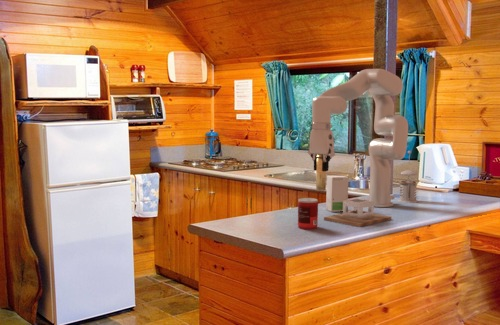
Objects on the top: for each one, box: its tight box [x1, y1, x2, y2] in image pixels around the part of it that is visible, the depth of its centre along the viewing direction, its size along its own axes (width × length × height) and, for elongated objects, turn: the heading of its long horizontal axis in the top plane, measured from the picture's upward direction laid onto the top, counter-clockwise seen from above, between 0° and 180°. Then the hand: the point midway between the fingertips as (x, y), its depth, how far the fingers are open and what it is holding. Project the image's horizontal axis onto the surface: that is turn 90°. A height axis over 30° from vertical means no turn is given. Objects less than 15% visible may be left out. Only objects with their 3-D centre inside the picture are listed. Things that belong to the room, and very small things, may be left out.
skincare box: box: [325, 175, 349, 213], centre depth 269 cm, size 8×7×16 cm
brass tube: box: [315, 154, 327, 191], centre depth 253 cm, size 4×4×15 cm
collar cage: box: [342, 197, 375, 220], centre depth 249 cm, size 9×9×7 cm
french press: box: [397, 150, 419, 204], centre depth 295 cm, size 10×12×25 cm
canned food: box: [297, 197, 319, 230], centre depth 233 cm, size 8×8×11 cm
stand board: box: [323, 212, 392, 228], centre depth 250 cm, size 22×18×1 cm
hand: (321, 170), depth 252 cm, fingers closed on brass tube, 4 cm apart
